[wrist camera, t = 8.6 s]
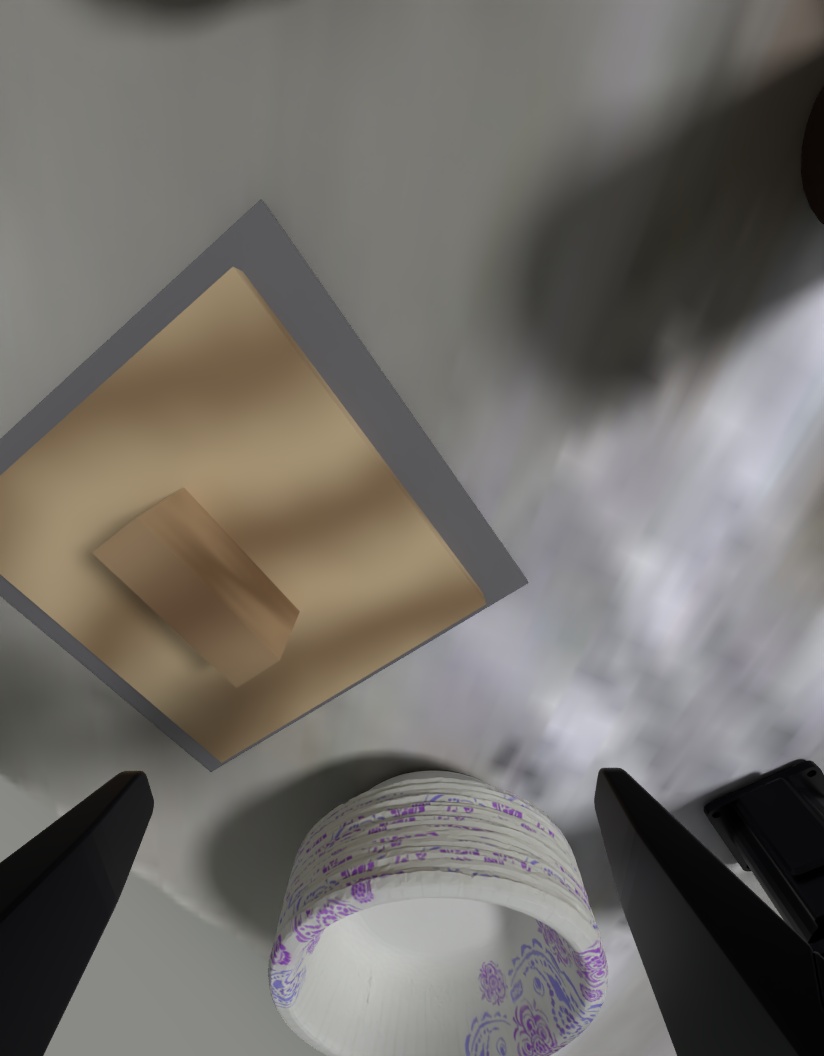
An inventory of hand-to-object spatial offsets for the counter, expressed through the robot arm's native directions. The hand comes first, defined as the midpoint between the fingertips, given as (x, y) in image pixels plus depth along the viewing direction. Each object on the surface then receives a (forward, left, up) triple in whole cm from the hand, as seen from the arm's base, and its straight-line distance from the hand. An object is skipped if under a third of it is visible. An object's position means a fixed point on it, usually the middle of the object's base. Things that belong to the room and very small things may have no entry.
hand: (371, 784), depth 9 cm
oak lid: (+4, +6, -12) cm, 14 cm away
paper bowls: (-16, +9, -13) cm, 23 cm away
